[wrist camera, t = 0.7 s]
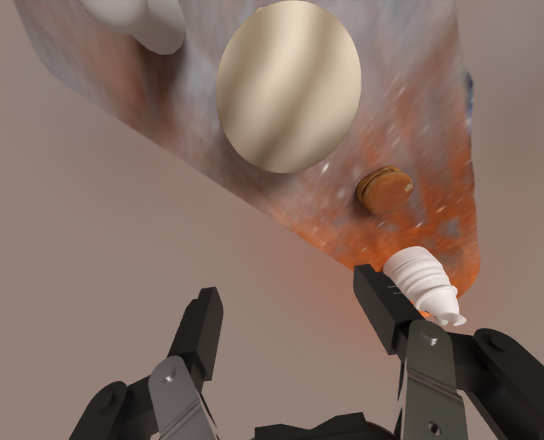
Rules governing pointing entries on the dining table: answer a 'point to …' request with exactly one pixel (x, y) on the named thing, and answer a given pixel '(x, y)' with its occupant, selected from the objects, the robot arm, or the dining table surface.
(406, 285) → the honey pot
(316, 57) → the stool
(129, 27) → the salt shaker
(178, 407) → the robot arm
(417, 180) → the dining table surface
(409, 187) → the burger
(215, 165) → the dining table surface
